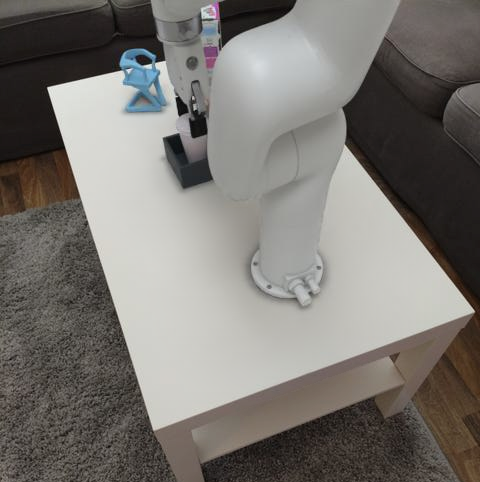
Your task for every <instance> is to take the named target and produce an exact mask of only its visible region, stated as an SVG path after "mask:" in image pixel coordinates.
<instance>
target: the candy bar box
mask: <svg viewBox="0 0 480 482" xmlns="http://www.w3.org/2000/svg"><path fill="white" fill-rule="evenodd" d="M219 7H220V6H219V2H217V3H214V4H211V5H208V6H206V7H203V8H201V16H202V26H203V35H202V36H201V37H200V38H201V41H202V45H203V49H204V54H205V59H206V65H207V72H208V79H209V86H210V89H211V81H212V73H213V68H214V64H215V61H216V59H217V57H218V55H219V53H220V51H221V50H222V48H223V46H222V30H221V29H222V28H221V17H220V8H219Z"/></svg>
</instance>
